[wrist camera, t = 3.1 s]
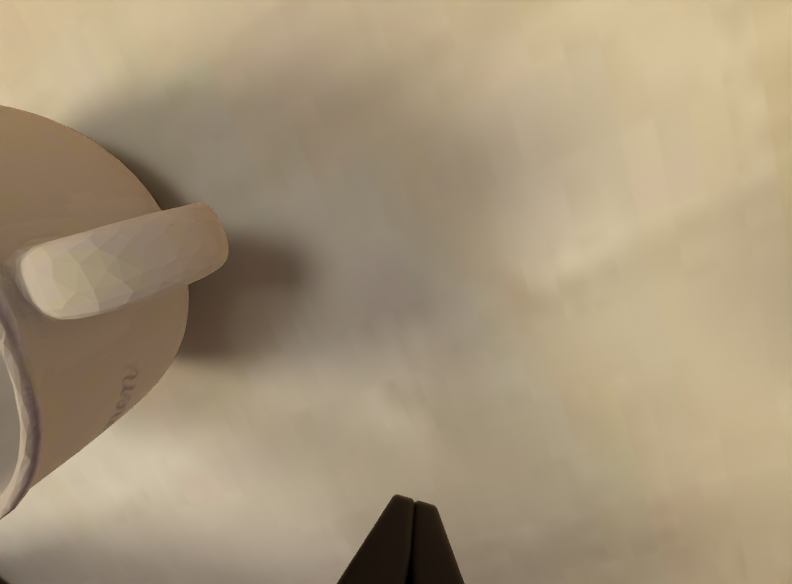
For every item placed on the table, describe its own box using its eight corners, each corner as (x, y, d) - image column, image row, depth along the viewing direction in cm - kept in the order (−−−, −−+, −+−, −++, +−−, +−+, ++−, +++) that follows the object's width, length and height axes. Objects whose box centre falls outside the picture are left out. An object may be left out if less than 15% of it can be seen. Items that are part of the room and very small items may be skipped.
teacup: (29, 368, 19) (-249, 526, 11) (-88, 104, 15) (-626, 83, 7) (329, 374, 17) (225, 573, 9) (284, 67, 13) (42, -14, 5)
